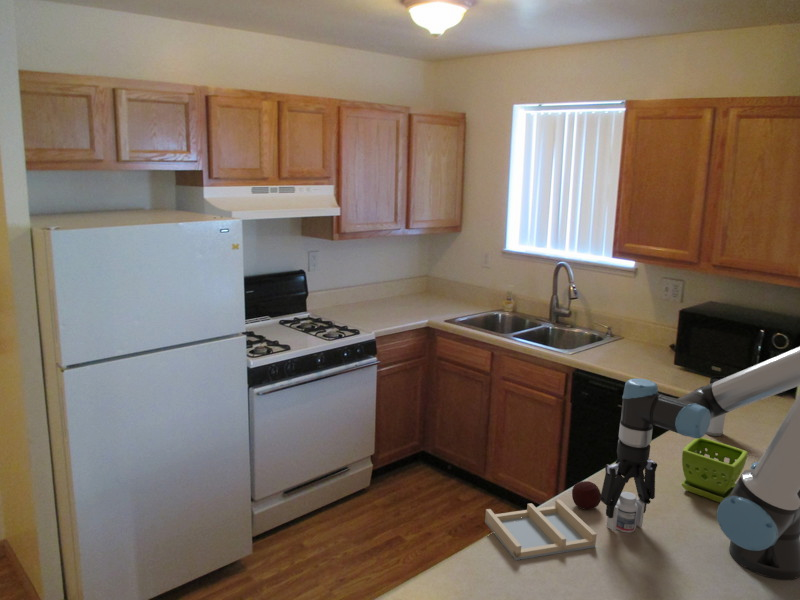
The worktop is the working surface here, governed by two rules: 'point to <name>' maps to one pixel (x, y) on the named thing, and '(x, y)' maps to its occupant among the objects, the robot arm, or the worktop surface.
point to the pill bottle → (627, 512)
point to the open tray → (541, 531)
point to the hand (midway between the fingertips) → (624, 526)
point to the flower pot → (711, 468)
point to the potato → (586, 495)
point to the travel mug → (716, 418)
